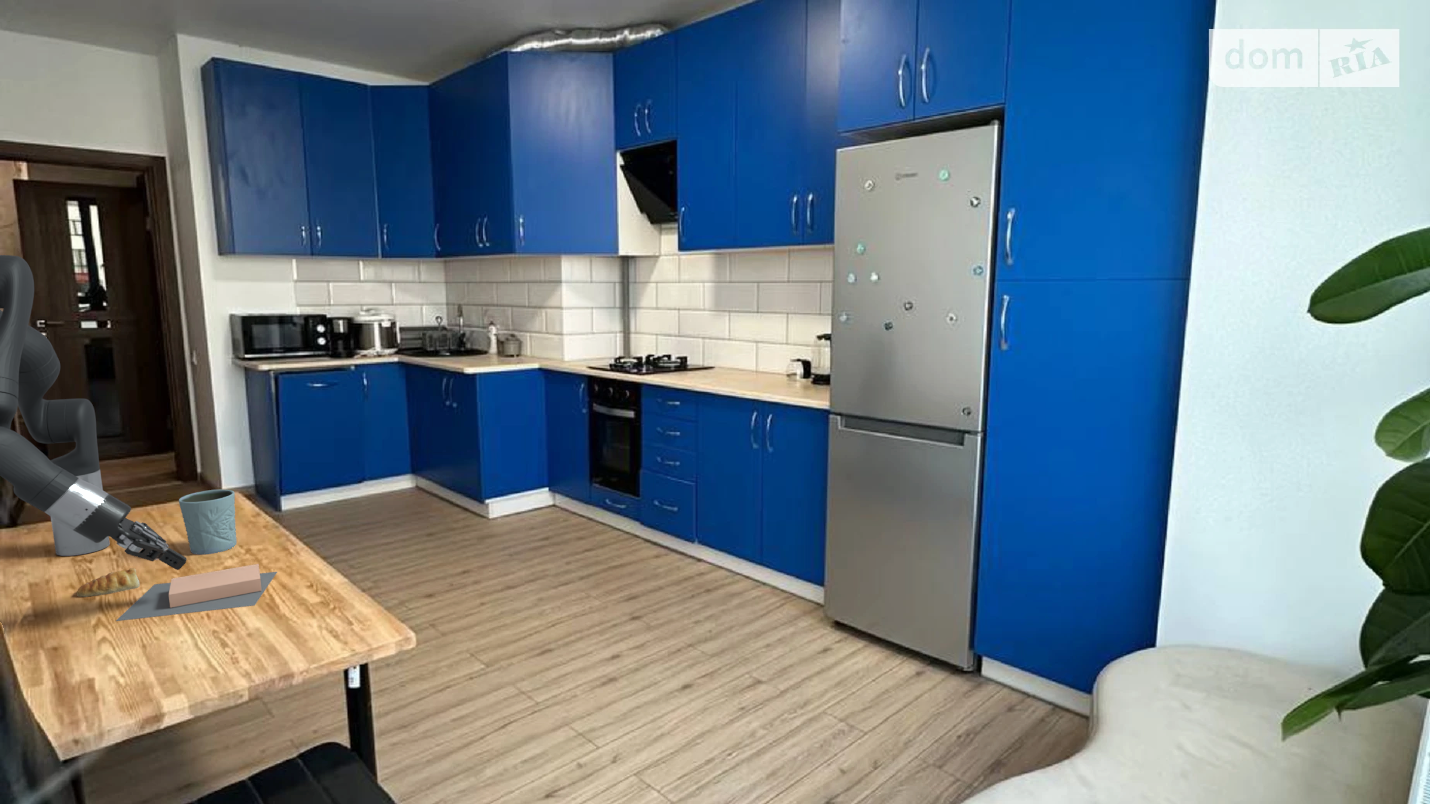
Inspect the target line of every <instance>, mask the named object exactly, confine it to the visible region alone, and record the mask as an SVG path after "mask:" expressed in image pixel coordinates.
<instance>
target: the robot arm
mask: <svg viewBox="0 0 1430 804" xmlns="http://www.w3.org/2000/svg"><path fill="white" fill-rule="evenodd" d="M34 296H35V281H34V275H33V271H32V269H31V267H30V266H29V264H28V262H27V261H26V260H25V259H24V258H22V256H18V255H11V254H10V255H8V254H0V477H1V478H2V479H4V480H5V481H8V483H10V485H12V487H13V493H14V494H15V496H16V497H18V498H19V499H20V500H22V501H23V502H25V503H27V504H29V505H31V506H33V507H34V508H36V509H38V510H40V511H42V513H45V514H47V515H48V516H49V517H50V522H51V528H52V535H53V536H52V537H53V543H54V544H53V545H54V550H55V554H56V555H57V556H63V557H68V556H70V557H71V556H79V555H85V554H90V553H94V552H98V551H101V550H105V548H108V547H109V546H110V543H111V542H110V538H111V539H112V540H113V541H115V542H116V545H117V546H119V547H121V548H122V549H125V550H124V552H125V554H127V555H129V556H134V557H137V558H139V559H143V560H146V561H150V562H154V561H161V562H162V563H163V564H166V565H167V566H169V567H171V568H172V569H175V570H176V571H178V570H180V569H182V567H183V566H184V565H185V564H186V563H187V561H188V560H187V557H186V556H184V555H183V554H181V553H179V552H177V551H175V550H174V549H172V548H170V546H169V545H168V543H167V541H166V540H165V538H163V537H162V536H161V535H160V534H159V533H157V531H155V530H154V529H153V528H152V527H150V526H149V525H148V524H147V523H146V522H140V521H137V520H136V521H133V520H131V519H128V518H127V517H128V515H129V514H130V512H131V511H132V507H131V506H130V505H128V504H127V503H125V502H124V501H122V500H120V499H119V498H116V497H114V496H113V495H112V494H110V493H108V492H106V491H104V489H103V482H102V475H101V474H102V473H101V467H100V459H99V457H100V456H99V449H98V437H97V420H96V412H95V407H94V406H93V404H92V402H91V401H90V400H89V399H88V398H66V399H65V398H63V399H62V398H61V399H45V398H43V397H44V395H45V394H46V393H47V392H48V391H49V389H50V388H51V387H52V386H53V385H54V383H55V382H56V380H57V379H58V376H59V375H60V371H61V363H60V360H59V358H58V355H57V353H56V351H55V349H54V346H53V345H52V343H51V341H50V340H49V339H48V338H47V336H46V335H45V334H43V333H42V332H40V331H39V330H37V329H36V328H34V327H32V326H31V325H29V323H30V318H31V314H32V309H33V305H34ZM1 309H3V310H1ZM18 409H19V411H20V414H21V416H22V418H23V422H24V424H25V426H26V429H27V431H28V433H29V434H30V436H31V437H32V439H34V440H35V442H37V443H40V444H60V443H74V442H75V448H74V449H73V450H71V451H70V452H68V453H65V454H63V455H62V456H58V457H55V458H53V459H49V458H48V456H47V455H46V454H45V453H43V452H42V451H41V450H40V449H38V448H37V446H35V445H34V444H33V443H32V442H31V441H30V440H28V439H27V438H26V437H25V436H24V435H21V434H20V433H18V432H16V431H14V430H12V429H11V427H12V426H11V425H12V421H13V419H14V418H15V416H16V414H17V411H18Z"/></svg>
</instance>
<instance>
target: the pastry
mask: <svg viewBox="0 0 1430 804" xmlns="http://www.w3.org/2000/svg"><path fill="white" fill-rule="evenodd" d="M140 585H141V583H140V580H139V577H138V576H137V570H136V568H134V567H133V568H129V569H127V570H117V571H113V572H109V573H107V574H106V575H101V576H99V577H98V578H95V579H92V580H91V581H89V582H86V583H85V584H82V585H80V586H79V587H78V589H77V590H76V596H77V597H80V598H89V597H96V596H103V595H105V596H106V595H110V594H114V593H119V592H125V591H129V590H135V589H138V588H140Z"/></svg>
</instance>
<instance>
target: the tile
mask: <svg viewBox="0 0 1430 804" xmlns="http://www.w3.org/2000/svg"><path fill="white" fill-rule="evenodd" d="M260 573H261V572H260V565H259V563H257V564H249V565H243V566H238V567H232V568H231V567H230V568H227V569H221V570H216V571H215V570H214V571H209V572H208V571H207V572H203V573H202V572H201V573H196V574H192V575H186V576H180V577H174V578H171V580H170V583H171V585H170V590H169V602H170V608H172V607H178V606H184V605H189V604H194V603H200V602H205V601H210V600H216V599H221V598H226V597H232V596H237V595H243V594H248V593H253V592H259V591H262V590H261V580H260Z"/></svg>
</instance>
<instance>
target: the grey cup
mask: <svg viewBox="0 0 1430 804" xmlns="http://www.w3.org/2000/svg"><path fill="white" fill-rule="evenodd" d="M235 497H236V495H235V491H234V490H231V489H211V490H210V489H209V490H203V491H197V492H193V493H190V494H186V495H183V496H181V497H180V498H179V499H178V504H179V507H180V511H181V514H182V515H181V517H182V519H183V523H184V527H185V531H186V536H187V541H188V543H189V544H188V545H189V550H190V553H192V554H194V555H201V556H203V555H211V554H218V552H219V553H222V552H225V551H228V549H229V550H232V549H233V548H235V547H236V546H237V533H236V530H237V528H236V518H235V517H236V507H235V504H236V503H235V500H236V499H235ZM235 545H236V546H235ZM234 546H235V547H234ZM232 547H233V548H232Z"/></svg>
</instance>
